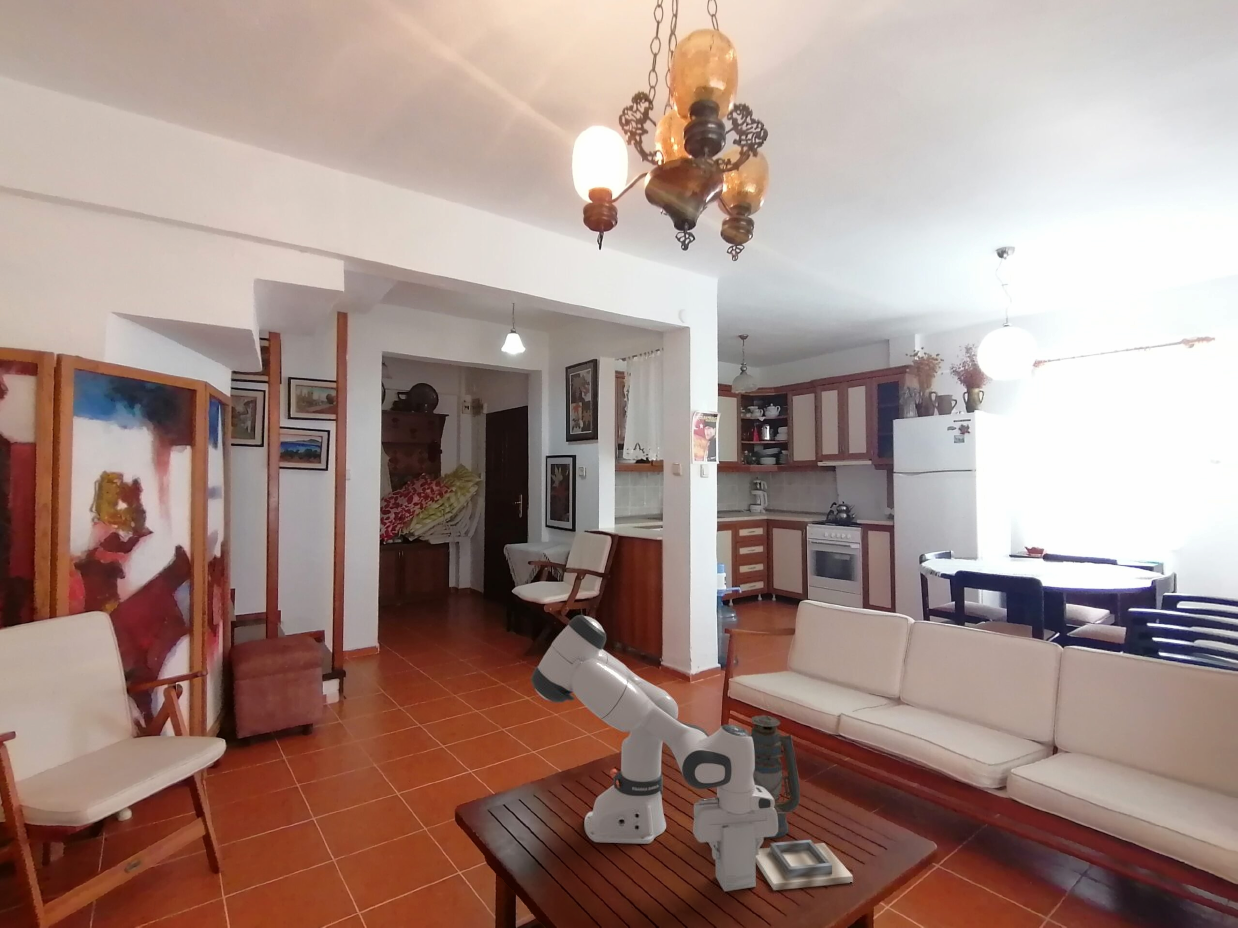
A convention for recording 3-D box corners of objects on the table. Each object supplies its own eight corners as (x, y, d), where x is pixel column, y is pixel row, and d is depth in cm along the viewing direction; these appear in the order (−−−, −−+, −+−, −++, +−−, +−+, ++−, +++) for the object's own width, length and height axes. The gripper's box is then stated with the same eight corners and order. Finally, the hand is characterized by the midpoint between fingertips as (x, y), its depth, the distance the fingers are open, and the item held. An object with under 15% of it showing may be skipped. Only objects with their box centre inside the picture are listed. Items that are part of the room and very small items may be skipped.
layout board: (773, 890, 146) (773, 874, 146) (750, 855, 160) (751, 841, 160) (852, 882, 149) (852, 867, 150) (823, 848, 163) (823, 834, 163)
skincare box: (746, 872, 152) (746, 810, 153) (756, 888, 146) (757, 823, 147) (713, 876, 151) (714, 813, 151) (723, 893, 145) (723, 827, 145)
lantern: (792, 813, 180) (793, 708, 181) (808, 842, 166) (809, 727, 167) (725, 813, 180) (726, 707, 181) (735, 841, 166) (736, 726, 167)
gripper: (697, 806, 144) (697, 867, 144) (781, 799, 148) (781, 859, 147) (689, 793, 150) (689, 851, 150) (770, 787, 154) (770, 844, 153)
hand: (735, 855), depth 149 cm, fingers closed on skincare box, 8 cm apart
